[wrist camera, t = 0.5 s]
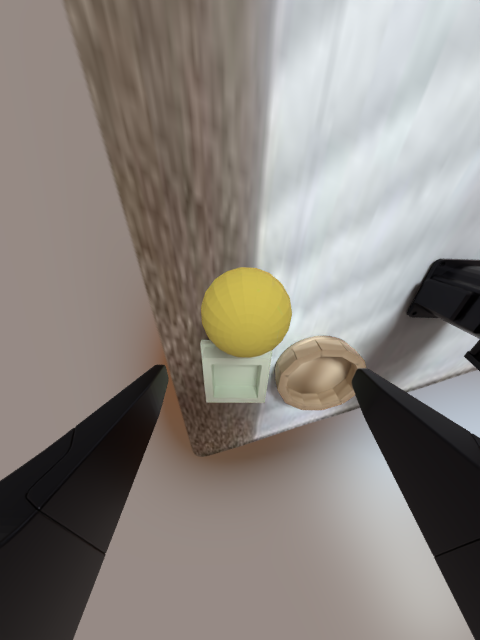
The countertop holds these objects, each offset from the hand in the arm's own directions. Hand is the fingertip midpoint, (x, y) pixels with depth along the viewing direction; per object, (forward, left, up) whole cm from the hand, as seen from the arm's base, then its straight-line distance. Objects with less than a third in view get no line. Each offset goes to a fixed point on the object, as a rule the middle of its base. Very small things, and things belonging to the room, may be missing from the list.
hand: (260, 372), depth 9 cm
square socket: (+1, +12, -13) cm, 18 cm away
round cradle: (-10, +12, -13) cm, 20 cm away
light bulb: (0, 0, -13) cm, 13 cm away
